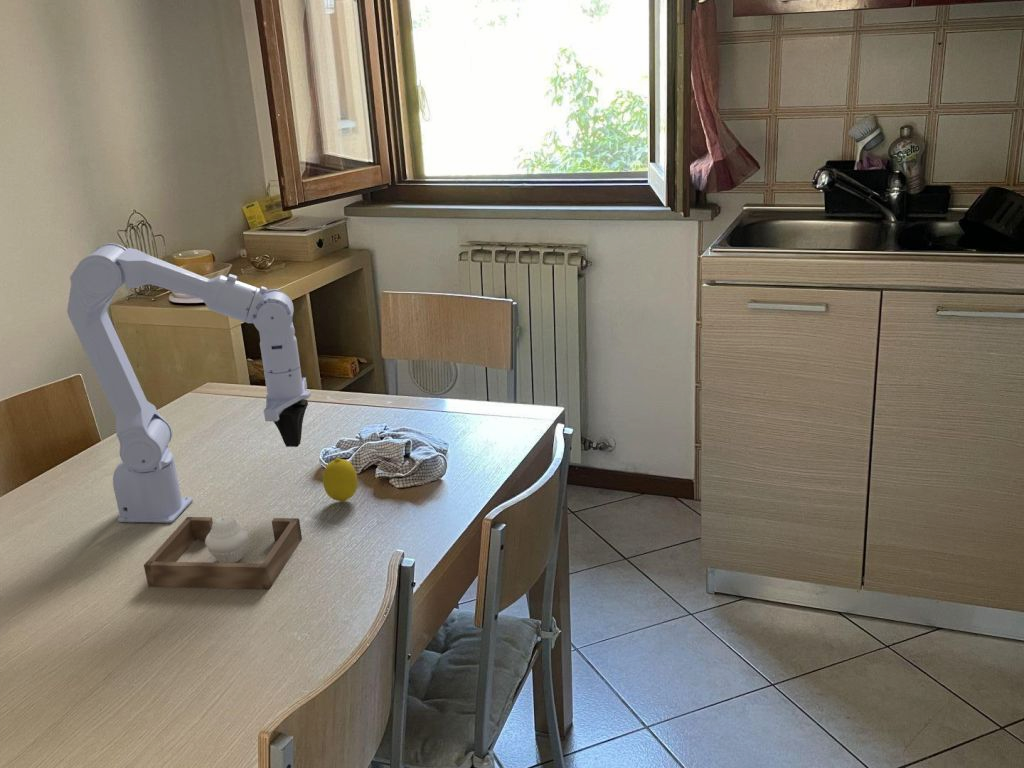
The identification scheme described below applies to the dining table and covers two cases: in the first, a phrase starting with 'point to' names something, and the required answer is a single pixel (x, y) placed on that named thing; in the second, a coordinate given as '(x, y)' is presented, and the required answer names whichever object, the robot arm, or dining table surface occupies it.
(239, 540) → the muffin
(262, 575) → the brown wooden u-shaped frame
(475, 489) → the dining table surface
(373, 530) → the dining table surface
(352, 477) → the lemon
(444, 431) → the dining table surface
